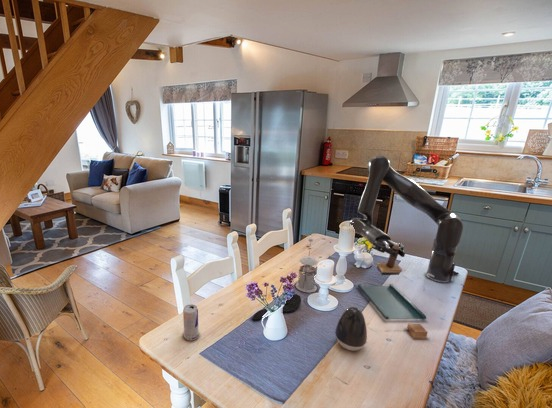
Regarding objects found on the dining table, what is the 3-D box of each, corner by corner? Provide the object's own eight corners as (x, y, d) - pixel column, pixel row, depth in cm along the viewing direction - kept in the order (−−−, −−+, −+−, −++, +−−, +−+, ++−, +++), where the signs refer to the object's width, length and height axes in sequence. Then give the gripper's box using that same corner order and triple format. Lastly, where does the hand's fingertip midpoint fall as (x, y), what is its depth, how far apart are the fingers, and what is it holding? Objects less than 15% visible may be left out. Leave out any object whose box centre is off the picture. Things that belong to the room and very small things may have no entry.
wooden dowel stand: (375, 267, 136) (384, 243, 129) (393, 267, 136) (402, 243, 129) (381, 275, 132) (390, 251, 125) (399, 275, 132) (409, 251, 125)
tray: (357, 288, 145) (358, 283, 144) (391, 288, 145) (392, 283, 144) (384, 321, 122) (385, 316, 121) (425, 321, 122) (426, 316, 121)
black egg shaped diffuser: (328, 343, 111) (332, 307, 106) (343, 331, 117) (348, 296, 112) (355, 360, 103) (361, 322, 99) (370, 346, 109) (376, 310, 105)
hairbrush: (247, 308, 126) (292, 288, 137) (247, 316, 127) (291, 295, 138) (259, 320, 119) (306, 298, 130) (259, 327, 120) (305, 305, 132)
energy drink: (200, 332, 116) (200, 305, 113) (195, 342, 111) (194, 314, 108) (187, 329, 118) (186, 302, 114) (181, 339, 113) (180, 311, 110)
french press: (318, 284, 148) (323, 236, 141) (314, 296, 138) (319, 246, 131) (298, 279, 153) (302, 232, 146) (292, 291, 143) (296, 241, 136)
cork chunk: (406, 330, 117) (407, 323, 116) (418, 330, 117) (419, 323, 116) (413, 338, 113) (415, 331, 112) (426, 338, 113) (427, 331, 112)
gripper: (363, 230, 141) (384, 246, 124) (393, 230, 141) (418, 246, 124) (361, 245, 143) (381, 263, 126) (391, 245, 143) (414, 263, 126)
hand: (399, 254), depth 125 cm, fingers closed on wooden dowel stand, 3 cm apart
